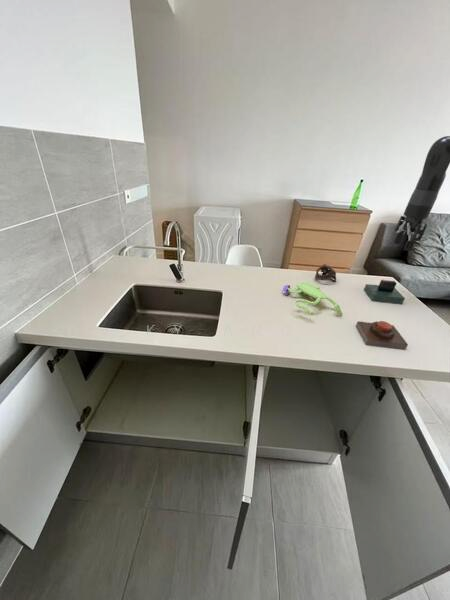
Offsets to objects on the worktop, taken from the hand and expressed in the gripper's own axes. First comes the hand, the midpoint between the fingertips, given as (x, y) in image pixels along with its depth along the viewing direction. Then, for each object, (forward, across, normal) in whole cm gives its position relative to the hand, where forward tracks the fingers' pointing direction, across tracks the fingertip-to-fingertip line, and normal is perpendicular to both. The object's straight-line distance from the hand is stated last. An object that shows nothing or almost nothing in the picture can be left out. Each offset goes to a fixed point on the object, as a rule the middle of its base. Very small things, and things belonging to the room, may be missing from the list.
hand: (401, 246), depth 96 cm
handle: (+19, -2, 0) cm, 19 cm away
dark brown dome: (+22, +10, +22) cm, 33 cm away
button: (+19, -32, +13) cm, 39 cm away
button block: (+22, -32, +13) cm, 41 cm away
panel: (+22, -2, 0) cm, 22 cm away
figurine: (+22, -14, +33) cm, 42 cm away
